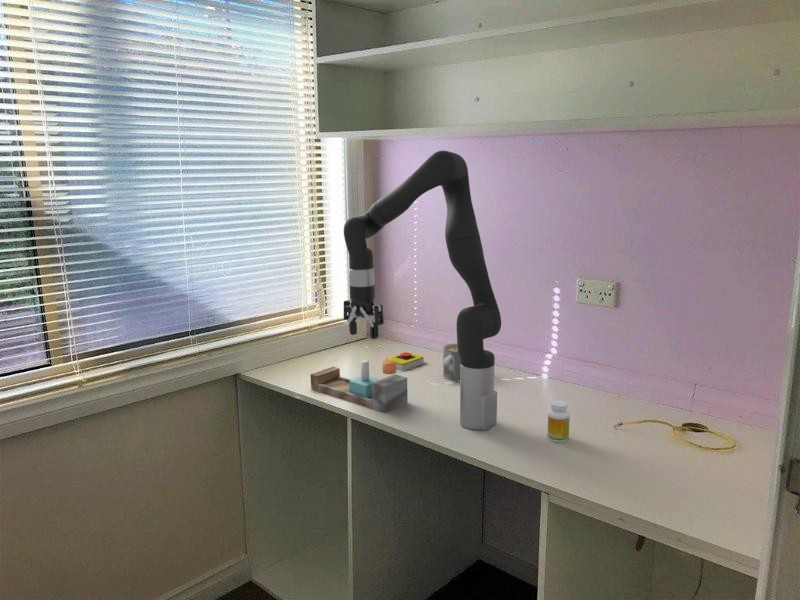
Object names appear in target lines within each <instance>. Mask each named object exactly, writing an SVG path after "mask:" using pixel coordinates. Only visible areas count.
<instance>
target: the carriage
mask: <svg viewBox="0 0 800 600" xmlns="http://www.w3.org/2000/svg"><path fill="white" fill-rule="evenodd" d="M360 372H361V373H360V376H359V377H357V378H353V379H350V381H349V391H350V393H352V394H356V395H359V396H362V397H365V398H369V397H371V396H372V383H373V382H376V381H378V380H381V379H382V378H376V377H373V376H370V360H367V359H366V360H361V361H360Z"/></svg>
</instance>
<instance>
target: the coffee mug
mask: <svg viewBox="0 0 800 600" xmlns="http://www.w3.org/2000/svg"><path fill="white" fill-rule="evenodd" d="M442 350H443V351H442V352H443V353H442V355H443V357H442V365H443V366H442V369H443V370H442V377H443V376H444V377H445V378H444V377H443V378H444V379H446V378H447V379H446V380H449V379H450V380H449V381H454V380H460V356H459V353H458V348H457V342H454V343H448V344H446V345H443V348H442Z"/></svg>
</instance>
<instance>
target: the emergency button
mask: <svg viewBox="0 0 800 600" xmlns="http://www.w3.org/2000/svg"><path fill="white" fill-rule="evenodd" d="M387 360H393V361H396V373H398V372H399V373H403V372H405V371H408V369H409V370H411V368H412V369H414V368H417V367H419V366H422V364H423V365H425V363H426V364H427V362H426V361H424V356H423V355H420V354H416V353H411V352H407V351H406V352H401V353H399V354H396V355H395V354H394V355H392V356H389V357H386V358H385V359H384V361H387ZM416 366H417V367H416ZM380 368H382V369H383V365H382V366H380Z"/></svg>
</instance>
